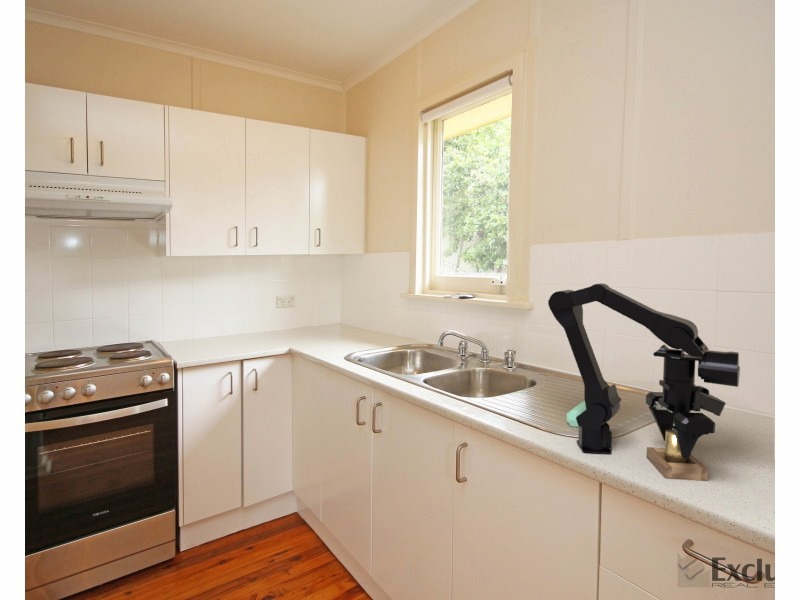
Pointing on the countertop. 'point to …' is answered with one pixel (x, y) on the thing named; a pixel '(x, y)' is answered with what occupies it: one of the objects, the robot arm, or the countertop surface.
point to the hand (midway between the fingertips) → (675, 449)
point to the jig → (677, 466)
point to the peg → (672, 449)
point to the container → (575, 414)
